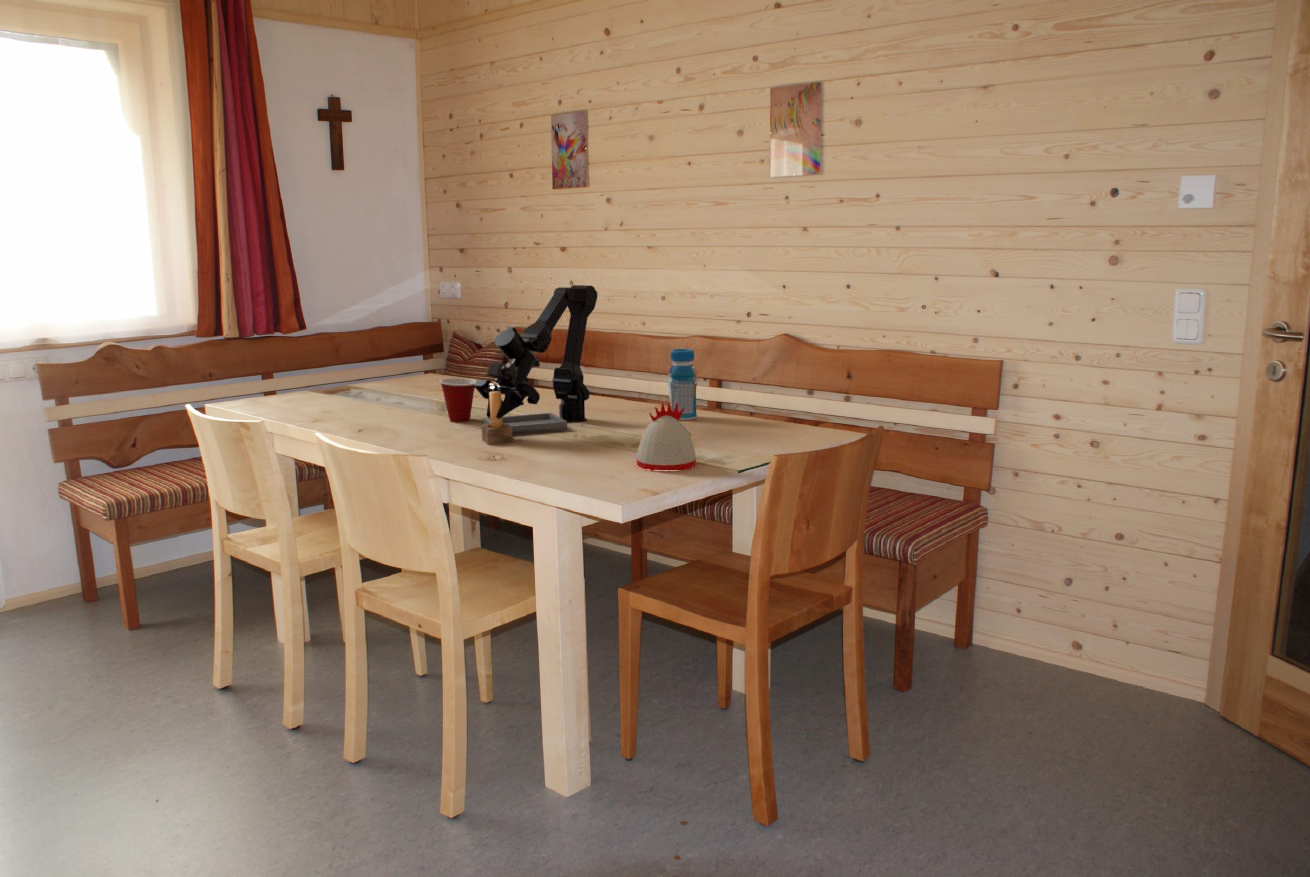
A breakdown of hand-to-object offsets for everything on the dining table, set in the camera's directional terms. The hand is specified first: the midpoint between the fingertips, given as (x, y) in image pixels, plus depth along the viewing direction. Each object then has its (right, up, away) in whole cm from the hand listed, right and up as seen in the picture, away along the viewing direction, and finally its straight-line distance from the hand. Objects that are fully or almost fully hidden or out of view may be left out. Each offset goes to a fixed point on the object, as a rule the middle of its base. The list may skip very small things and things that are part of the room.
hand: (492, 417), depth 254 cm
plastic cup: (-15, 0, +31) cm, 35 cm away
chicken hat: (+45, -12, -25) cm, 53 cm away
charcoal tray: (+6, -3, +18) cm, 20 cm away
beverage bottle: (+50, 0, +31) cm, 59 cm away
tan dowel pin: (+1, -6, +3) cm, 7 cm away
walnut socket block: (+1, -6, +3) cm, 7 cm away
